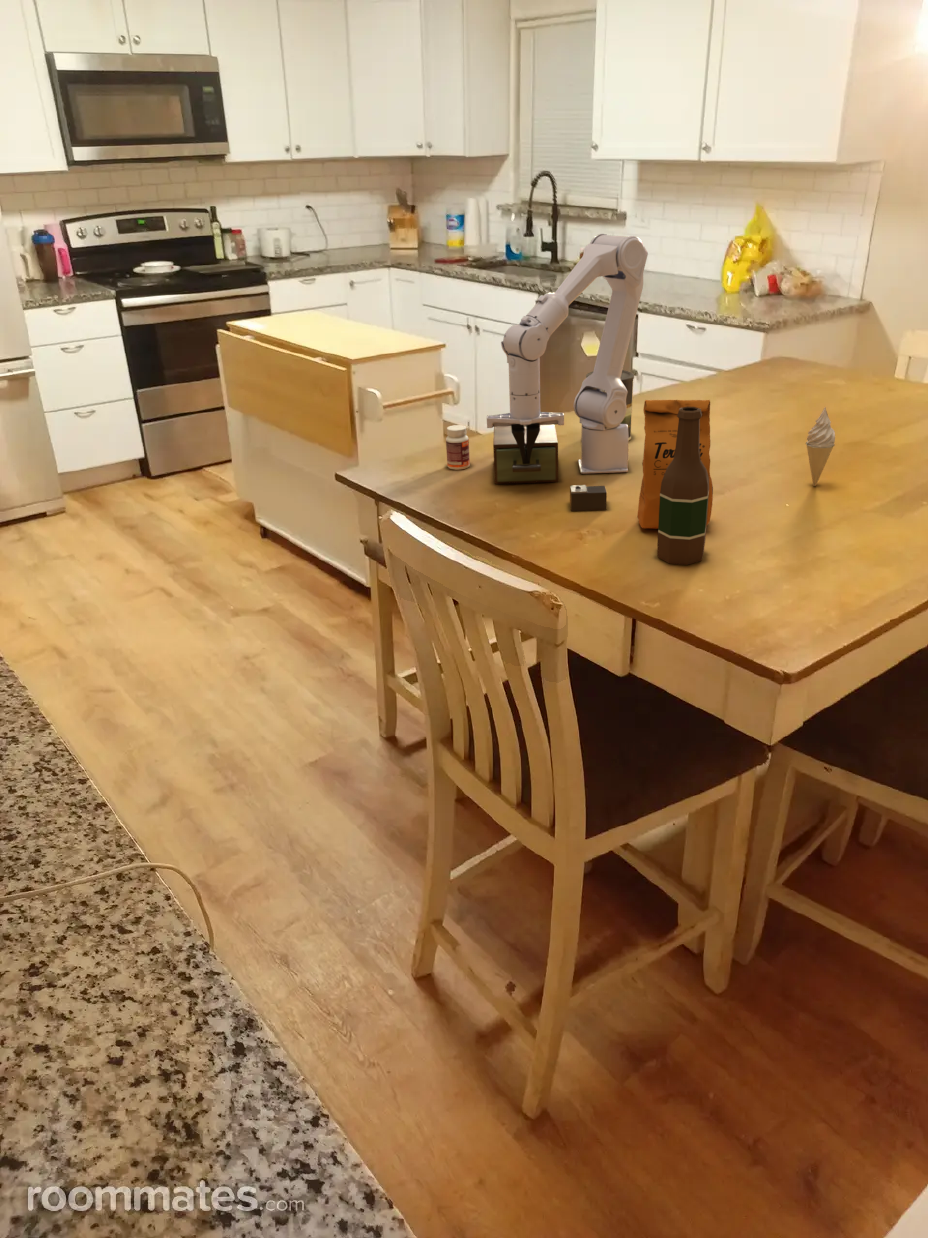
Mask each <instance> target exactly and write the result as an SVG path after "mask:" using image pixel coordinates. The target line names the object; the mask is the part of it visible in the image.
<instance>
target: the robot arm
mask: <svg viewBox="0 0 928 1238" xmlns="http://www.w3.org/2000/svg"><path fill="white" fill-rule="evenodd" d="M648 255H649V253H648V251H647V248H646V246H645V245H644V243H643V241H642V239H640V237H638V236H636V235H629V236H625V235H614V234H607V233H598V234H597V235H595V236H594V237H593V238H592V239H591V240H590V242H589V243H588V244H586V245H585V246H584V248H583V255H582V257H581V258H580V259H579V261H578V262H577V263H576V264H575V266H573V268H572V269H571V271H570V272H569V274H568V275H567V276H566V277H565V279H564V280H563V281H562V283H561V284H560V285H559V287H557V289H556V290H555V291H554V292H546V293H545V294H541V295H539V296H538V298H537V299H536V301H537V302H536V303H535V305H534V306H533V307H532V308H531V309H530V310H529V311H528V313H526V315H523V316H522V318H521V319H520V322H519V323H516V324H513V325H510V326H509V327H508V329H507V330H506V331H505V333H504V335H503V339H502V340H501V342H500V345H501V349H502V351H503V353H504V354H505V356H506V363H507V364H508V389H509V395H508V396H509V412H507V413H499V414H489V415H486V428H487V429H494V427H504V426H511V431H512V434H513V436H514V438H515V440H516V442H517V444H518V447H519V450H520V453H521V457H522V463H523V464H530V457H531V452H532V449H533V446H534V443H535V441H536V438H537V436H538V434H539V431H540V425H555V426H556V425H558V426H565V413H564V412H550V411H541V364H540V363H541V358H540V357H542V356H543V355H544V354H545V352H546V350H547V346H548V341H549V340H550V338H551V336H552V335H553V333H554V332H555V331H556V330H557V329H558V328H559V327H560V326H561V325H562V323H564V321H565V320H566V319H567V317H568V316H569V311H570V310H569V306H570V305H571V304H572V303H573V302H574V301H575V300H576V299H577V298H578V297H579V296H580V295H581V294H582V293H583V292H585V290H586V289H587V288H588V287H589V286H590V285H591V284H592V283H593V282H594V281H595V280H596V279H597V278H600V277H602V278H604V279H605V280H606V282H607V284H608V286H609V287H610V288H611V291H612V292H611V295H610V299H609V304H608V309H607V313H606V317H605V321H604V325H603V329H602V334H601V338H600V342H599V346H598V349H597V355H596V358H595V362H594V367H593V371H592V372H593V373H592V374H591V375H590V376H588V377H587V378H586V377H585V378H584V379H583V380H582V383H581V386H580V389H579V391H578V392H577V394H576V395H575V397H574V400H573V411H574V414H575V415H576V417H578V418H579V424H581V434H580V435H581V439H580V441H581V445H580V446H581V448H580V449H581V451H580V453H581V455H580V459H579V458H578V459H577V464H578V467H579V472H580V474H583V475H584V474H608V473H609V474H610V473H611V474H613V473H628V472H629V469H628V467H629V441H630V440H629V438H628V426H627V424H620V423H621V422H622V421H623V419H624V417H625V415H626V410H627V406H626V397H627V393H628V391H627V389H626V387H625V386H624V384H623V383H622V381H621V379H620V378H621V374H622V370H623V369H624V367H625V361H626V357H627V354H628V349H629V344H630V341H631V337H632V334H633V329H634V325H635V322H636V316H637V312H638V309H639V305H640V300H641V297H642V294H643V293H642V292H643V289H644V271H645V267H646V263H647V260H648ZM601 389H602V390H605V391H606V393H605V392H602V391H600V390H601ZM524 426H526V437H527V445H526V452H525V431H524Z"/></svg>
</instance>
